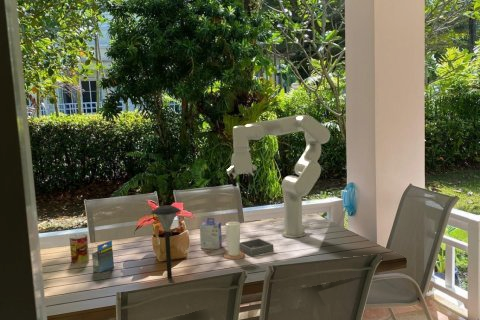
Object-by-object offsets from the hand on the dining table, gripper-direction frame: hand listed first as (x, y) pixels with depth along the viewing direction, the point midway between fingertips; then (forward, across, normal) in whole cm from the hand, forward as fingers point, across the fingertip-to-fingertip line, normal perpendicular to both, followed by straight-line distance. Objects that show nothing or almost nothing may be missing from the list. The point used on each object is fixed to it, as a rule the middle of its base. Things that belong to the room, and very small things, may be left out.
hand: (242, 184), depth 237 cm
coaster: (+30, +15, +14) cm, 36 cm away
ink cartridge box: (+30, +17, -5) cm, 35 cm away
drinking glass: (+30, +15, +13) cm, 36 cm away
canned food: (+29, +76, -25) cm, 85 cm away
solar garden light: (+30, +50, +20) cm, 62 cm away
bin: (+30, +3, +14) cm, 33 cm away
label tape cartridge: (+30, +70, -7) cm, 76 cm away
